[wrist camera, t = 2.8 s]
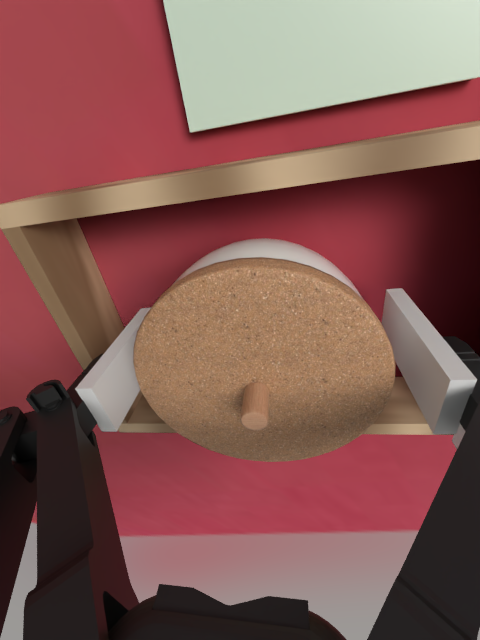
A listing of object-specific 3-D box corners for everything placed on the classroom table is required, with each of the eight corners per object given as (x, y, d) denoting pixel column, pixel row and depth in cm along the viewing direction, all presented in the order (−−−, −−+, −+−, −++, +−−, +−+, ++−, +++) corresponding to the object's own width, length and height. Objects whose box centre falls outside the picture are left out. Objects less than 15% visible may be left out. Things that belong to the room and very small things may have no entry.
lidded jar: (349, 359, 20) (394, 502, 12) (204, 366, 22) (163, 493, 14) (356, 198, 14) (448, 269, 7) (162, 227, 16) (55, 308, 9)
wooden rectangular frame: (141, 392, 24) (119, 432, 21) (48, 192, 16) (-12, 206, 13) (623, 382, 18) (700, 436, 15) (873, 54, 10) (1171, 11, 7)
